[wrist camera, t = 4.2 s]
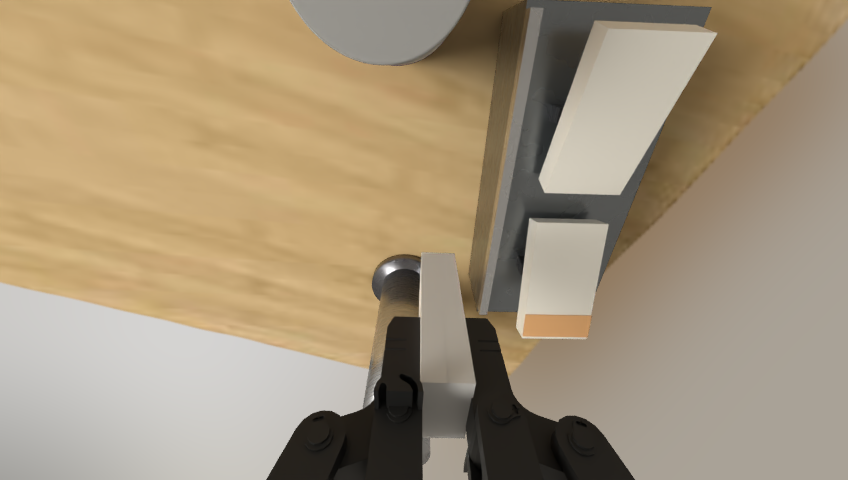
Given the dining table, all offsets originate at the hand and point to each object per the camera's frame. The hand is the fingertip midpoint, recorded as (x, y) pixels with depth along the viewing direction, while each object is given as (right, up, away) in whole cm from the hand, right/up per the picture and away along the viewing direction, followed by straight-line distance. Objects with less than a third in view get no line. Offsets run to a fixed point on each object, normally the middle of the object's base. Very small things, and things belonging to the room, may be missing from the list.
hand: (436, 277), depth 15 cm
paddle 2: (+9, +8, +1) cm, 12 cm away
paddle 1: (+8, -1, +6) cm, 10 cm away
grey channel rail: (+8, +7, +10) cm, 15 cm away
